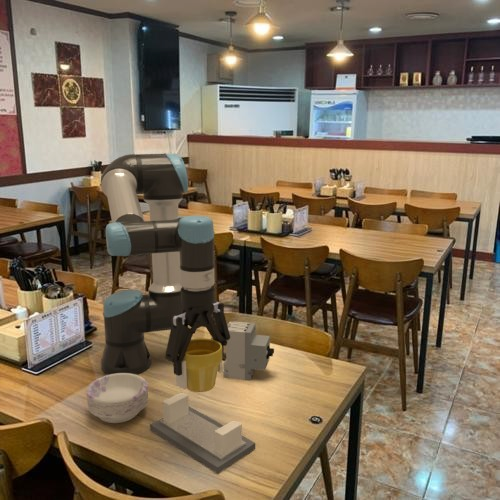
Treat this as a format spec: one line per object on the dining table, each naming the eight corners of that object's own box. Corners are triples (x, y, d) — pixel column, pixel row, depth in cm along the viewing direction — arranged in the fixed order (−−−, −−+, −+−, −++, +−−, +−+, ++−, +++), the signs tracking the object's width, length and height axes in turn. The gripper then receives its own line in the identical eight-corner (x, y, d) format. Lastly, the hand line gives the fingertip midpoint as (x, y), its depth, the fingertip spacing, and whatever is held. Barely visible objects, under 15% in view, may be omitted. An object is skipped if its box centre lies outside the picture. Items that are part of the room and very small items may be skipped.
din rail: (159, 422, 126) (159, 420, 126) (184, 409, 132) (184, 407, 132) (221, 461, 112) (221, 458, 112) (246, 444, 117) (246, 442, 117)
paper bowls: (151, 424, 128) (150, 396, 126) (88, 434, 124) (85, 405, 122) (146, 395, 142) (144, 368, 140) (88, 403, 138) (86, 376, 136)
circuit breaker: (270, 382, 149) (271, 334, 146) (223, 377, 152) (222, 330, 149) (274, 370, 156) (275, 324, 153) (229, 366, 159) (229, 321, 156)
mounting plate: (150, 429, 126) (150, 424, 125) (187, 410, 134) (187, 405, 134) (217, 473, 110) (217, 467, 110) (255, 448, 118) (255, 442, 118)
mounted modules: (163, 419, 126) (162, 401, 125) (182, 409, 131) (181, 392, 130) (222, 455, 113) (222, 435, 111) (241, 443, 117) (241, 424, 116)
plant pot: (195, 371, 126) (194, 334, 123) (231, 381, 120) (230, 343, 118) (168, 389, 117) (166, 349, 115) (205, 401, 112) (204, 359, 110)
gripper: (167, 302, 103) (171, 402, 108) (245, 278, 119) (245, 366, 124) (144, 294, 108) (149, 390, 113) (222, 273, 124) (224, 357, 129)
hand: (200, 378), depth 118 cm, fingers closed on plant pot, 10 cm apart
